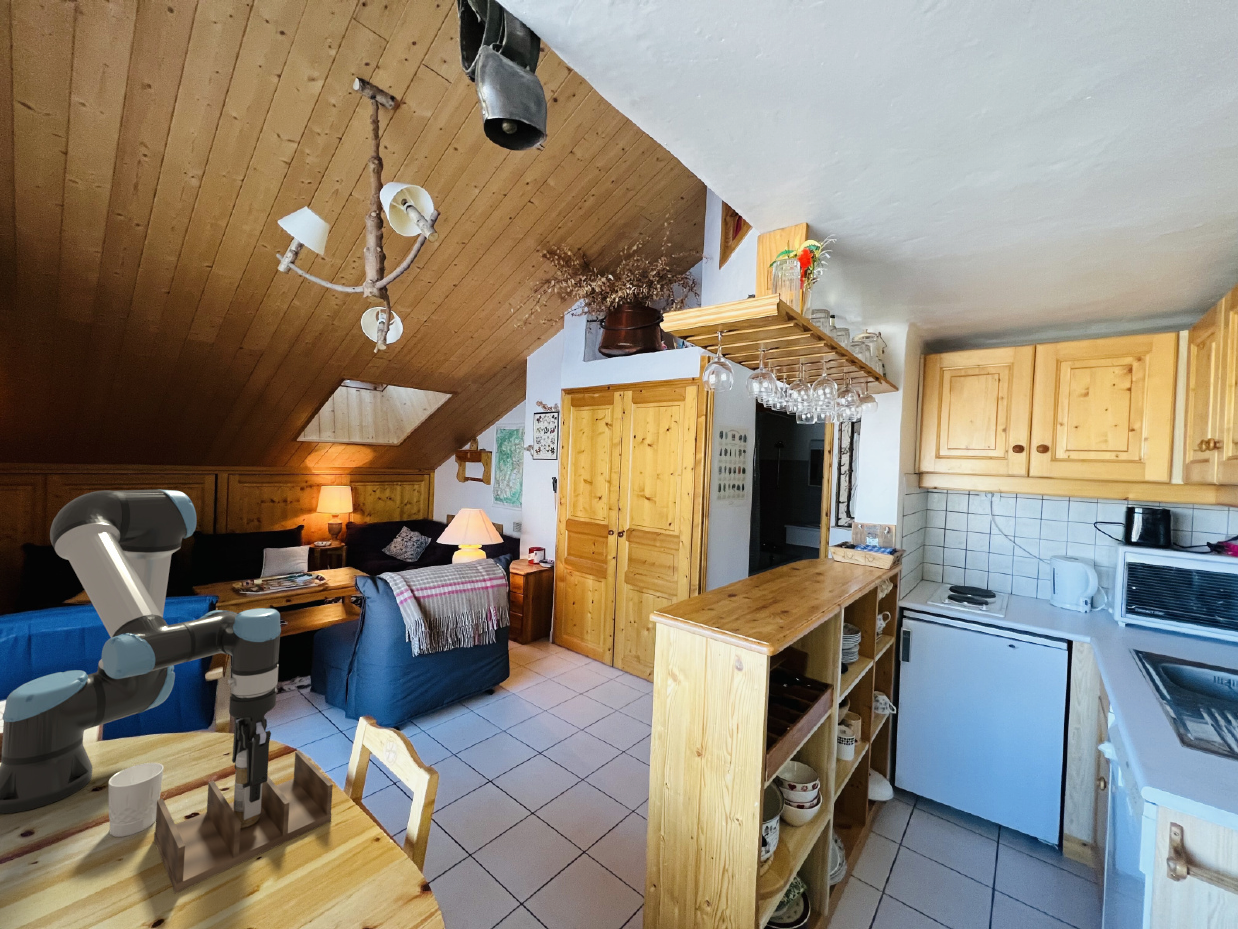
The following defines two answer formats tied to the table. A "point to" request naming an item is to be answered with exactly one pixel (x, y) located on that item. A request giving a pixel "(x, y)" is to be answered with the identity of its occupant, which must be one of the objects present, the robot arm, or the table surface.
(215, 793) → the slot rack
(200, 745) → the table surface
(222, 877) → the table surface
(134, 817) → the white cup
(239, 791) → the sprinkles bottle
